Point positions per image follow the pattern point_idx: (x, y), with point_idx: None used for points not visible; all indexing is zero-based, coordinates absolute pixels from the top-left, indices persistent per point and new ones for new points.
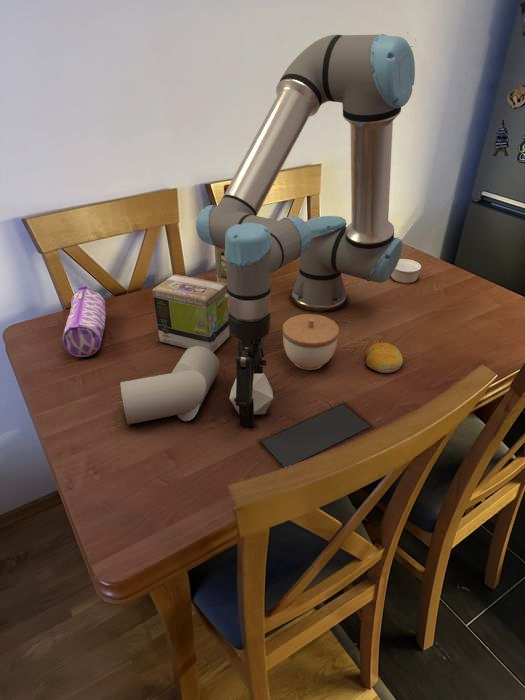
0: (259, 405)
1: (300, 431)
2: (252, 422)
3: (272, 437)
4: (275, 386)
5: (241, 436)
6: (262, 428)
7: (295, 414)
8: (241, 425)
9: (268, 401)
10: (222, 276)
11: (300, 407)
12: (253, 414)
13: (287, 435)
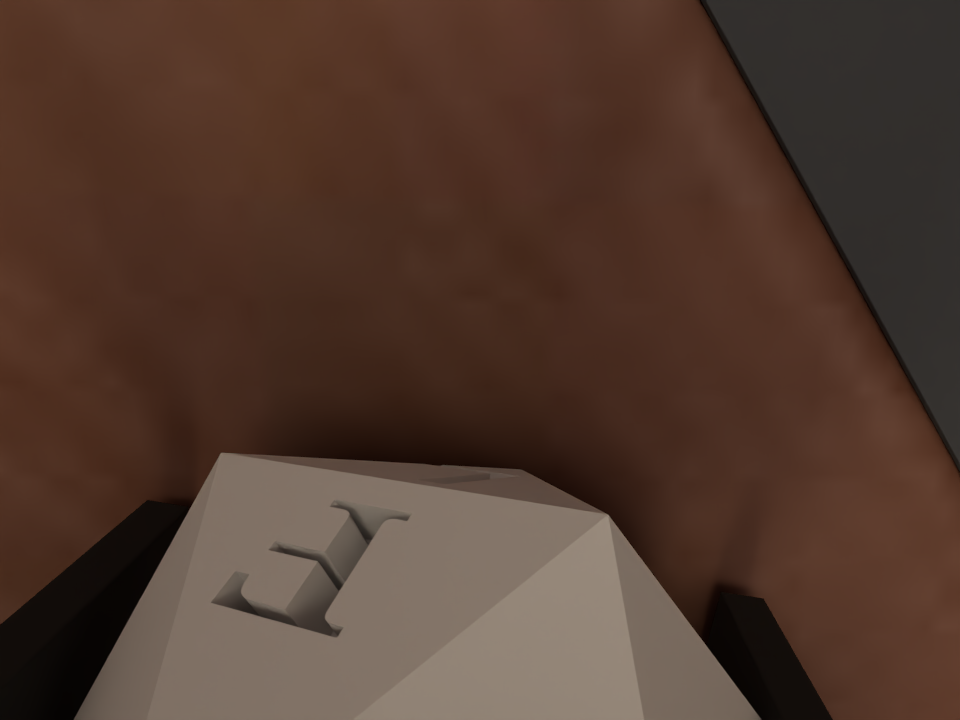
0: (716, 692)
1: (878, 40)
2: (787, 649)
3: (939, 393)
4: (14, 346)
5: (858, 689)
6: (756, 493)
7: (524, 102)
8: None
9: (649, 573)
10: None
11: (384, 28)
12: (804, 715)
13: (931, 216)
